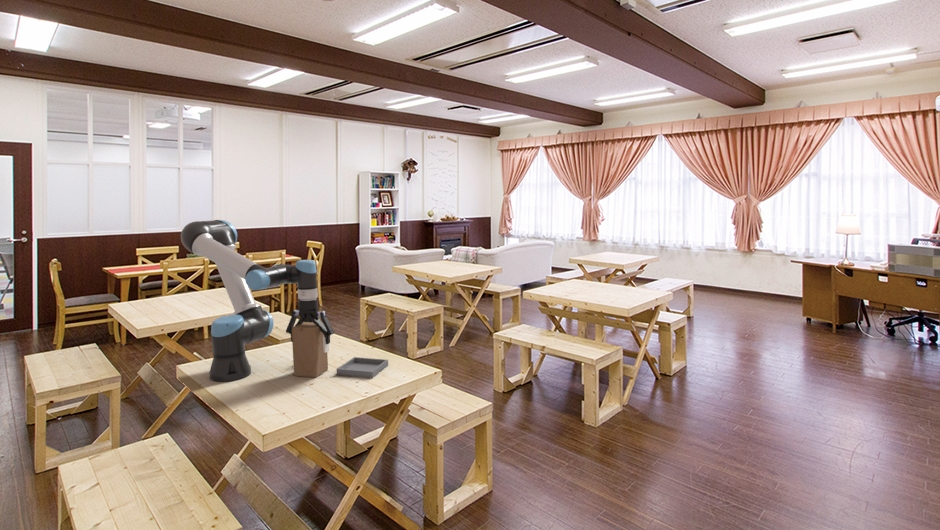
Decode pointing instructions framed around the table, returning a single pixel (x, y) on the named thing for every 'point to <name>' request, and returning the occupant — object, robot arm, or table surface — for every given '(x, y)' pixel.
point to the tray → (362, 367)
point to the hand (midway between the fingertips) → (311, 350)
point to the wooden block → (308, 350)
